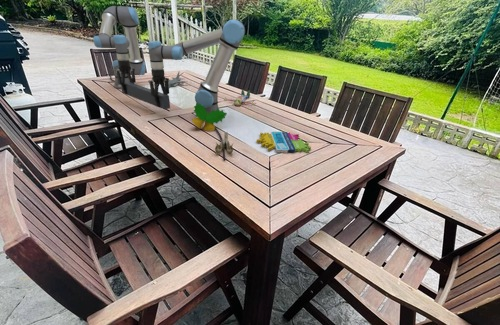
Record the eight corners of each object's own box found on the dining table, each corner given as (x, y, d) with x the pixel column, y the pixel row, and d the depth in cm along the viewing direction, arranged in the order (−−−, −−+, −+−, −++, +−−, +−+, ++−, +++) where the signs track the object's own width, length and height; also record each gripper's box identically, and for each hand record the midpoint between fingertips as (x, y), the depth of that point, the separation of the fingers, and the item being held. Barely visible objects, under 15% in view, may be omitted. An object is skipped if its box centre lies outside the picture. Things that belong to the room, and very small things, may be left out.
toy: (261, 91, 228) (254, 99, 202) (261, 99, 231) (253, 108, 205) (231, 87, 233) (220, 95, 207) (230, 95, 236) (219, 104, 210)
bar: (170, 108, 171) (169, 95, 167) (164, 109, 168) (163, 96, 164) (127, 91, 198) (125, 80, 194) (122, 93, 195) (120, 81, 190)
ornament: (218, 133, 171) (224, 110, 169) (221, 134, 163) (227, 111, 161) (186, 125, 162) (192, 101, 160) (189, 126, 155) (195, 101, 153)
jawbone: (234, 135, 144) (233, 125, 135) (233, 160, 138) (232, 151, 129) (217, 135, 144) (216, 125, 135) (216, 160, 138) (214, 150, 129)
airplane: (153, 81, 261) (151, 71, 256) (184, 80, 275) (183, 70, 270) (160, 92, 233) (159, 80, 228) (195, 89, 246) (194, 78, 241)
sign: (313, 150, 142) (258, 149, 139) (312, 153, 143) (258, 152, 140) (301, 132, 164) (254, 130, 161) (301, 134, 165) (254, 133, 162)
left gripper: (132, 58, 189) (137, 90, 201) (108, 60, 177) (114, 94, 189) (138, 59, 185) (142, 92, 197) (113, 61, 173) (120, 96, 185)
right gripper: (165, 66, 169) (169, 101, 180) (141, 69, 156) (146, 107, 168) (173, 68, 165) (176, 104, 176) (148, 71, 152) (153, 110, 164)
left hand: (129, 93), depth 193 cm, fingers closed on bar, 4 cm apart
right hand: (161, 105), depth 172 cm, fingers closed on bar, 4 cm apart
